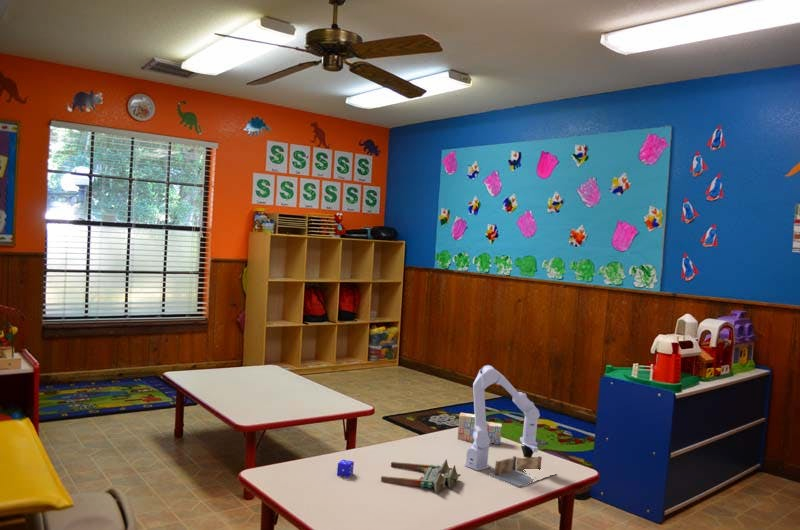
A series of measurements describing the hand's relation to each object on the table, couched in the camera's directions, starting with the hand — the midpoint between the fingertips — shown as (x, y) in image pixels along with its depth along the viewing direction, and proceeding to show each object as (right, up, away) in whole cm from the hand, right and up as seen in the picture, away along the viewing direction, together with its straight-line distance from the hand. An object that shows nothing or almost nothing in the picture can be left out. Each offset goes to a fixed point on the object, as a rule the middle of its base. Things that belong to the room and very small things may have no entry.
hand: (526, 462), depth 268 cm
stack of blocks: (-16, -1, +37) cm, 41 cm away
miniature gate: (-47, 0, -22) cm, 52 cm away
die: (-78, +3, -24) cm, 82 cm away
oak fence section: (0, -2, -2) cm, 3 cm away
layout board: (-3, -3, -7) cm, 8 cm away
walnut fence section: (-11, -2, -7) cm, 13 cm away
